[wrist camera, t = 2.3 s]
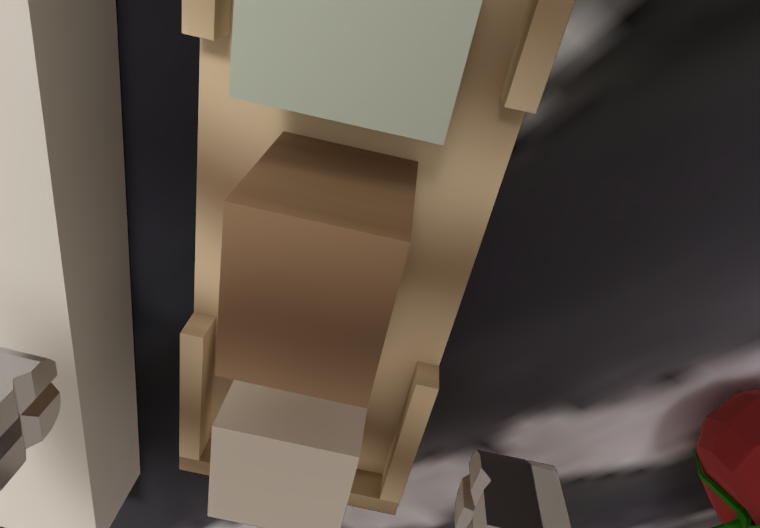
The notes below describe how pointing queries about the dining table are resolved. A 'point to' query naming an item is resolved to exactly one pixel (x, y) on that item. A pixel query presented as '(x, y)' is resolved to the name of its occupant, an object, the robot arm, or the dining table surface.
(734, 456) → the tomato
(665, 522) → the dining table surface
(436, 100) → the block
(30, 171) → the dock
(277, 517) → the block
